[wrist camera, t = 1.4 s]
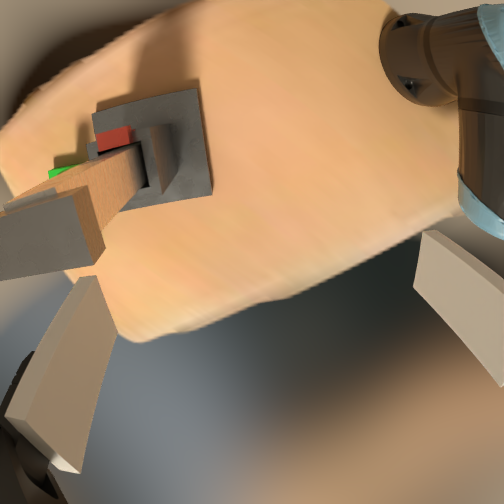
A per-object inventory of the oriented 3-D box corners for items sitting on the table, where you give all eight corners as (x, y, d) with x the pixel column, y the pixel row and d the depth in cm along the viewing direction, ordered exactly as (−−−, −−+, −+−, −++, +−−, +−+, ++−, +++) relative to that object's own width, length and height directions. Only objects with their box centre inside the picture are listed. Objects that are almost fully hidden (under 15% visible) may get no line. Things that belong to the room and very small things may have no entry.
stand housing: (197, 89, 34) (184, 76, 21) (212, 192, 40) (209, 231, 28) (95, 113, 34) (41, 119, 21) (115, 209, 40) (75, 254, 27)
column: (173, 133, 34) (69, 186, 10) (178, 161, 36) (96, 271, 11) (120, 144, 34) (-35, 222, 9) (126, 172, 36) (-9, 287, 11)
